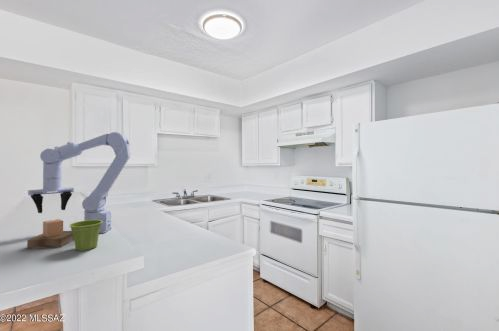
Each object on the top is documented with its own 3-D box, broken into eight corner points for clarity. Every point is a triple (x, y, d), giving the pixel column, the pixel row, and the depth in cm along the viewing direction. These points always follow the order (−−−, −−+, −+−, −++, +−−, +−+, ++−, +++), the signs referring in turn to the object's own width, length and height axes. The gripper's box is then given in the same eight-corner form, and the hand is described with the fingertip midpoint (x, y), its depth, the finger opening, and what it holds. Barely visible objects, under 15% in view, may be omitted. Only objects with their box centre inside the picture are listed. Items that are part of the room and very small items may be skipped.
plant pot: (65, 255, 74) (66, 227, 74) (72, 245, 82) (72, 221, 82) (100, 250, 78) (100, 224, 78) (103, 242, 86) (103, 218, 86)
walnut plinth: (75, 238, 91) (75, 230, 91) (61, 246, 81) (61, 238, 81) (46, 239, 89) (46, 231, 89) (27, 248, 79) (27, 240, 79)
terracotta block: (58, 232, 88) (58, 219, 88) (63, 234, 86) (63, 220, 86) (43, 235, 84) (43, 221, 84) (47, 237, 82) (47, 223, 82)
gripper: (68, 177, 104) (68, 207, 104) (25, 178, 92) (24, 213, 92) (76, 177, 100) (75, 209, 100) (31, 179, 88) (31, 215, 88)
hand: (51, 211), depth 96 cm, fingers open, 7 cm apart
